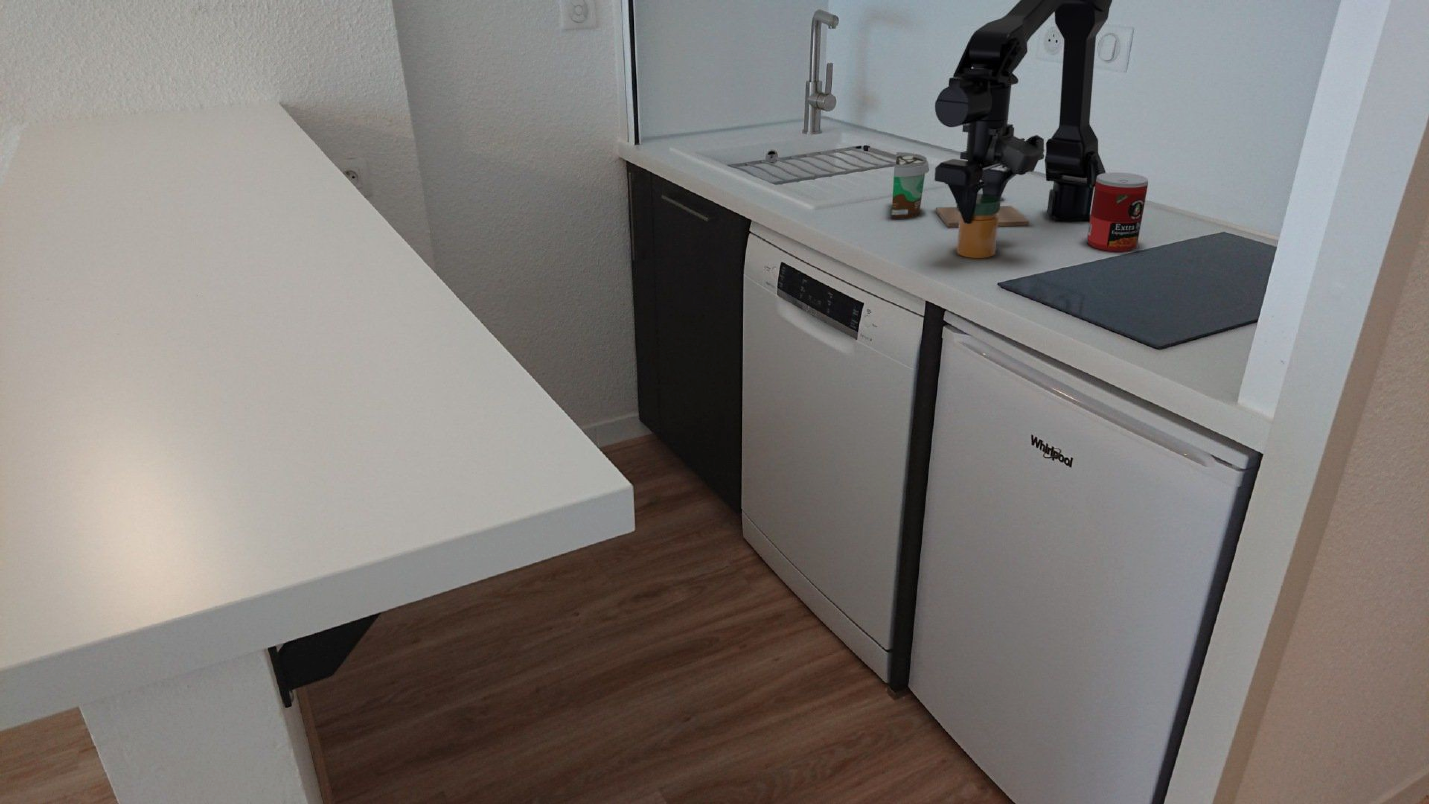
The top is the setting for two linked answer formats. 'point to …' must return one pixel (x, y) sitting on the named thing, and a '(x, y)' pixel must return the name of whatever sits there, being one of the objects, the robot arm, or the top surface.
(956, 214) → the cork mat
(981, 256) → the jar
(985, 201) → the lid
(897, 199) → the food container
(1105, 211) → the canned food
